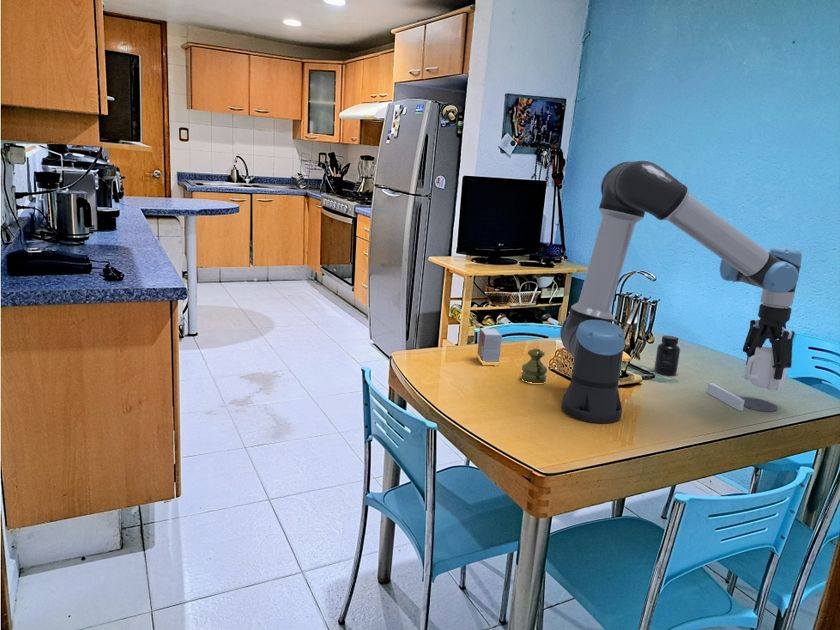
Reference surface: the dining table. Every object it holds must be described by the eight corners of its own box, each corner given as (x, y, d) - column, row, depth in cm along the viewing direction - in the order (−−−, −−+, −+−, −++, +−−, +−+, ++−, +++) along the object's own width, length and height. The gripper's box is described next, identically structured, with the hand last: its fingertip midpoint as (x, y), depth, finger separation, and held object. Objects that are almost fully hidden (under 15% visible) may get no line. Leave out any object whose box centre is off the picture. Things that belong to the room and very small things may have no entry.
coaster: (753, 411, 160) (753, 410, 160) (728, 398, 170) (728, 397, 170) (785, 411, 162) (785, 410, 162) (759, 398, 171) (759, 396, 171)
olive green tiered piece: (544, 387, 170) (547, 354, 168) (518, 382, 173) (522, 350, 170) (547, 379, 177) (550, 347, 175) (522, 375, 179) (525, 344, 177)
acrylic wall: (738, 410, 160) (740, 400, 160) (706, 392, 174) (708, 382, 173) (742, 410, 161) (744, 400, 160) (710, 392, 174) (711, 382, 173)
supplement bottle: (680, 374, 190) (686, 338, 187) (668, 377, 186) (674, 341, 183) (661, 368, 195) (667, 333, 193) (649, 371, 192) (654, 335, 189)
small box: (476, 358, 194) (479, 327, 192) (493, 358, 195) (496, 328, 192) (482, 366, 186) (484, 334, 184) (499, 366, 187) (502, 334, 185)
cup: (790, 389, 162) (797, 354, 160) (755, 391, 159) (761, 355, 156) (766, 379, 170) (772, 345, 167) (731, 380, 167) (738, 346, 164)
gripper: (819, 314, 150) (801, 397, 155) (760, 297, 170) (746, 371, 175) (793, 313, 148) (776, 398, 154) (737, 297, 169) (723, 372, 174)
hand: (760, 384), depth 164 cm, fingers closed on cup, 8 cm apart
